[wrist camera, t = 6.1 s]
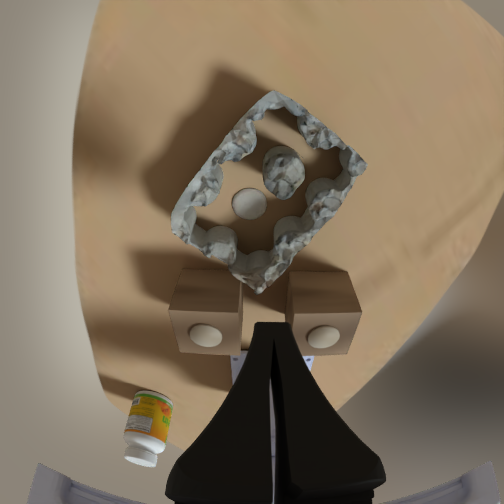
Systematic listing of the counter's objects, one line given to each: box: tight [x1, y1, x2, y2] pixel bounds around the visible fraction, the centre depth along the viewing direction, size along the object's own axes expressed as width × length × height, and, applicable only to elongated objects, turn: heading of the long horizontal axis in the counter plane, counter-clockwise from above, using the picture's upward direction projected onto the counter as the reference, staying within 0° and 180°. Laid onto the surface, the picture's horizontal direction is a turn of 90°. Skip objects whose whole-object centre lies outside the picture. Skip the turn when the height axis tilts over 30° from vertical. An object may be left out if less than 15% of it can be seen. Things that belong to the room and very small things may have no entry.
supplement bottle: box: [124, 391, 173, 467], centre depth 30 cm, size 5×5×10 cm
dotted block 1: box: [168, 269, 243, 356], centre depth 21 cm, size 4×4×5 cm
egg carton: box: [171, 90, 368, 295], centre depth 16 cm, size 11×8×4 cm
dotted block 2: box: [285, 271, 362, 356], centre depth 21 cm, size 4×4×5 cm
